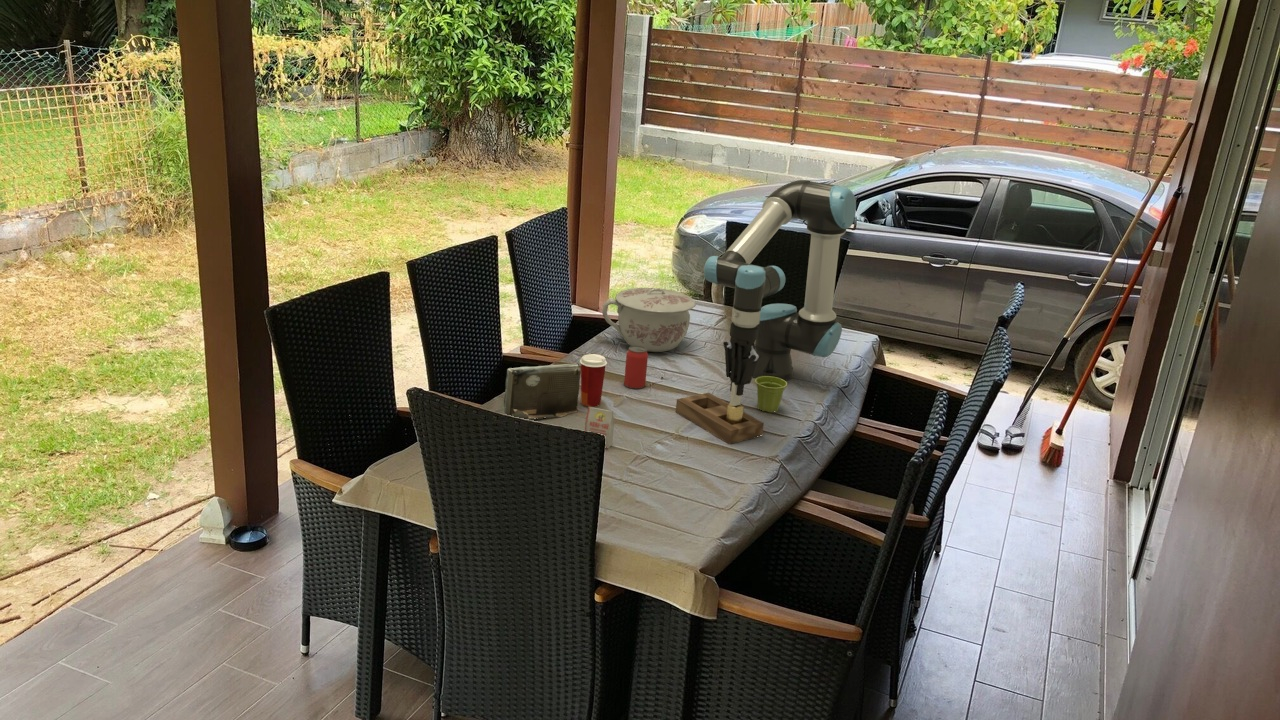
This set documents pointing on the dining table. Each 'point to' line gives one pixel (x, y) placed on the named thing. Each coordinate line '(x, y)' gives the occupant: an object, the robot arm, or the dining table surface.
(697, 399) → the frame
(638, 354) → the beer can
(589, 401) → the paper cup
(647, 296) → the chamber pot
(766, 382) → the plant pot
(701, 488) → the dining table surface
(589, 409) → the tea bag
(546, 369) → the radio
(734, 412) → the brass bushing
